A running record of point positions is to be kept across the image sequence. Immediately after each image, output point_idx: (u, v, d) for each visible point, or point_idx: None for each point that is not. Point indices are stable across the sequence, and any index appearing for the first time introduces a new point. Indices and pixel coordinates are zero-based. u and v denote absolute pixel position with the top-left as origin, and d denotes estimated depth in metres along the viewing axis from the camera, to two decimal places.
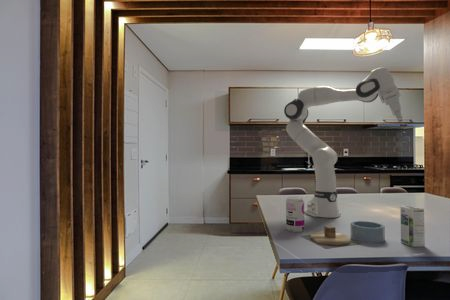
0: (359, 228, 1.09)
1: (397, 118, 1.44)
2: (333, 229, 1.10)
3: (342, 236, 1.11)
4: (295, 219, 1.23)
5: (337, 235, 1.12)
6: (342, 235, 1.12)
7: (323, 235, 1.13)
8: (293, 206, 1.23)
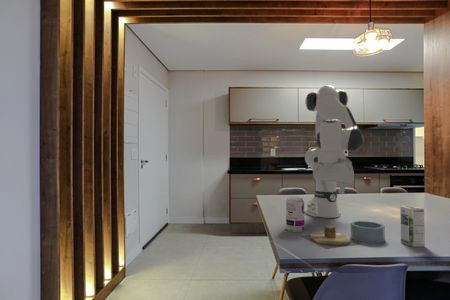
0: (359, 228, 1.09)
1: None
2: (333, 229, 1.10)
3: (342, 236, 1.11)
4: (295, 219, 1.23)
5: (337, 235, 1.12)
6: (342, 235, 1.12)
7: (323, 235, 1.13)
8: (293, 206, 1.23)
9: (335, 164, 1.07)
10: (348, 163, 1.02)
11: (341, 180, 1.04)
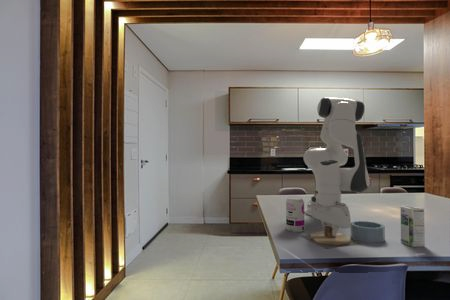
0: (359, 228, 1.09)
1: None
2: None
3: (342, 236, 1.11)
4: (295, 219, 1.23)
5: (337, 235, 1.12)
6: (342, 235, 1.12)
7: (323, 235, 1.13)
8: (293, 206, 1.23)
9: (332, 207, 1.07)
10: (345, 209, 1.02)
11: (338, 225, 1.04)
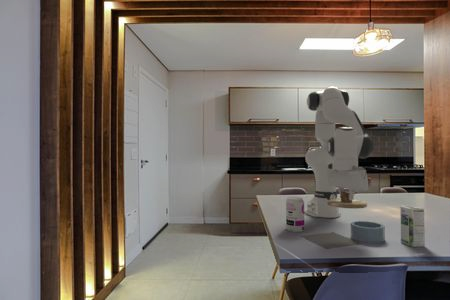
0: (359, 228, 1.09)
1: None
2: None
3: (358, 201, 1.12)
4: (295, 219, 1.23)
5: (353, 201, 1.14)
6: (358, 201, 1.14)
7: (339, 201, 1.14)
8: (293, 206, 1.23)
9: (349, 172, 1.08)
10: (362, 171, 1.03)
11: (355, 188, 1.05)
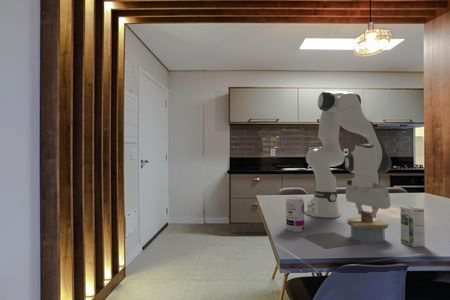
0: (359, 228, 1.09)
1: None
2: None
3: (379, 221, 1.13)
4: (295, 219, 1.23)
5: (373, 220, 1.14)
6: (378, 220, 1.14)
7: (359, 220, 1.15)
8: (293, 206, 1.23)
9: (370, 189, 1.09)
10: (384, 189, 1.04)
11: (377, 206, 1.06)
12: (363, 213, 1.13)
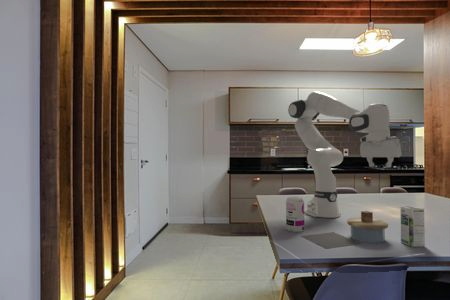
0: (359, 228, 1.09)
1: None
2: (370, 214, 1.12)
3: (379, 221, 1.13)
4: (295, 219, 1.23)
5: (373, 220, 1.14)
6: (378, 220, 1.14)
7: (359, 220, 1.15)
8: (293, 206, 1.23)
9: (383, 142, 1.24)
10: (396, 140, 1.19)
11: (389, 155, 1.21)
12: (363, 213, 1.13)
